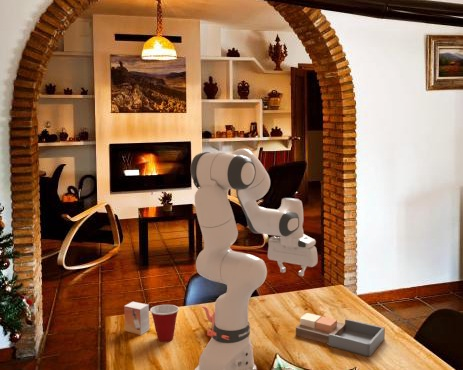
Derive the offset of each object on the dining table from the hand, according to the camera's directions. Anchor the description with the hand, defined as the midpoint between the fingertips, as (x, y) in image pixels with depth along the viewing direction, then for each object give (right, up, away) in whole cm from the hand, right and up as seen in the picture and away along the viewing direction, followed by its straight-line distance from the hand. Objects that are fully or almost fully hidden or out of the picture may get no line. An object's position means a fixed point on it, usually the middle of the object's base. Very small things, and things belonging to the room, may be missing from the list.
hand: (292, 273), depth 192 cm
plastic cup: (-48, -24, -5) cm, 54 cm away
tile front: (+12, -19, -6) cm, 23 cm away
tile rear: (+7, -19, -2) cm, 20 cm away
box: (+22, -23, -12) cm, 34 cm away
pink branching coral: (-27, -22, +1) cm, 35 cm away
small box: (-60, -23, +2) cm, 65 cm away
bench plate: (+10, -22, -4) cm, 25 cm away
